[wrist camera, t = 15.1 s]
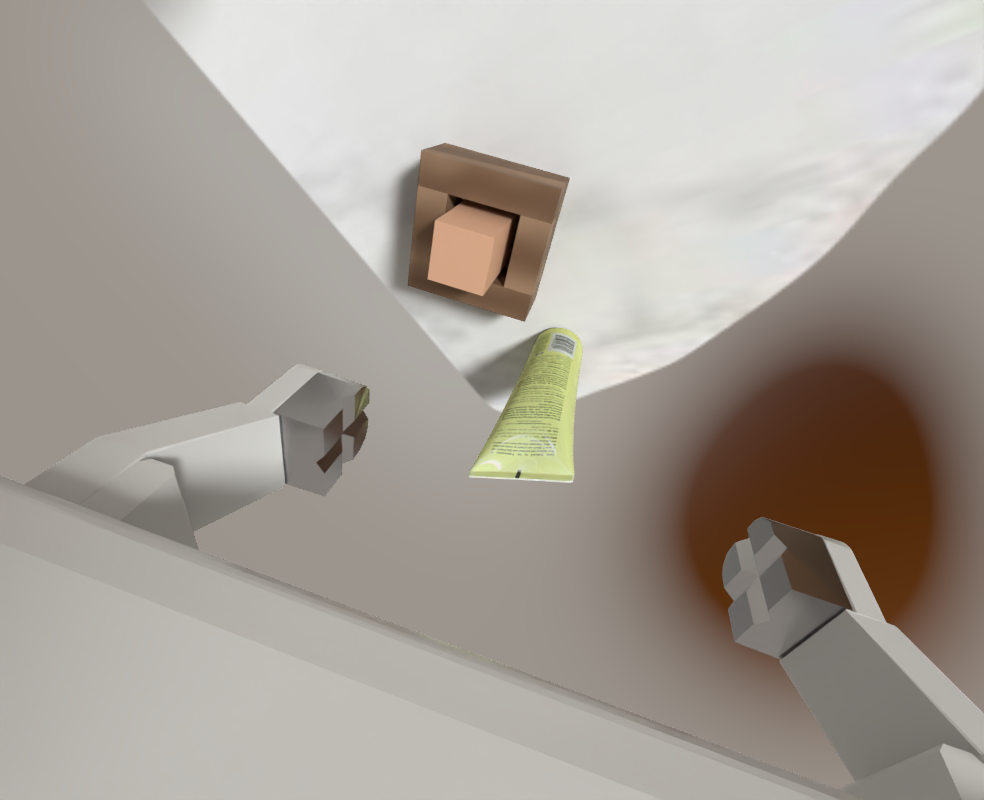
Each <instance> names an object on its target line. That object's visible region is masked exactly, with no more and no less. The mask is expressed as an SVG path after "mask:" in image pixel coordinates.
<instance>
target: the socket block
mask: <svg viewBox="0 0 984 800" xmlns="http://www.w3.org/2000/svg"><path fill="white" fill-rule="evenodd" d="M569 179H570V178H568V177H564V176H561V175H557V174H553V173H550V172H546V171H543V170H539V169H536V168H532V167H529V166H525V165H521V164H518V163H514V162H511V161H507V160H504V159H500V158H497V157H493V156H489V155H486V154H482V153H479V152H475V151H472V150H468V149H465V148H461V147H457V146H454V145H450V144H447V143H444V144H441V145H437V146H434V147H431V148H427V149H424V150H421V159H420V169H419V179H418V189H417V199H416V208H415V218H414V228H413V238H412V248H411V258H410V268H409V277H408V286H411V287H415V288H418V289H421V290H424V291H427V292H431V293H434V294H437V295H440V296H444V297H447V298H450V299H453V300H456V301H460V302H463V303H466V304H469V305H473V306H476V307H479V308H482V309H485V310H489V311H492V312H495V313H498V314H502V315H505V316H508V317H511V318H514V319H518V320H521V321H524V322H525V320H526V318H527V315H528V313H529V311H530V309H531V307H532V305H533V302H534V300H535V298H536V294H537V291H538V287H539V284H540V280H541V277H542V273H543V270H544V266H545V263H546V259H547V256H548V252H549V249H550V245H551V242H552V238H553V235H554V231H555V228H556V224H557V221H558V217H559V214H560V210H561V207H562V203H563V200H564V196H565V193H566V189H567V186H568V182H569ZM466 199H467V200H470V201H474V202H477V203H481V204H484V205H487V206H491V207H494V208H498V209H501V210H505V211H508V212H512V213H515V214H518V215H519V218H518V222H517V226H516V231H515V235H514V239H513V243H512V248H511V252H510V256H509V261H508V262H507V263H506V265H505V266H504V267H503V269H502V270H501V272H500V273H499V274H498V276H497V277H496V279H495V280H494V281H493V283H492V284H491V285H490V287H489V288H488V290H487V291H486V292H485V294H484V295H483V296H480V295H477V294H474V293H471V292H467V291H464V290H461V289H458V288H454V287H451V286H448V285H445V284H441V283H438V282H435V281H432V280H428V272H429V264H430V256H431V248H432V241H433V233H434V225H435V220H436V219H438V218H439V217H441V216H442V215H444V214H445V213H447V212H448V211H450V210H451V209H453V208H454V207H456V206H457V205H459V204H460V203H462V202H463V201H465V200H466Z"/></svg>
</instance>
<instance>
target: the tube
mask: <svg viewBox="0 0 984 800" xmlns="http://www.w3.org/2000/svg"><path fill="white" fill-rule="evenodd" d="M582 353H583V348H582V344H581V341H580V339H579V338H578V337H577V336H576V335H575V334H574V333H573V332H571V331H569V330H567V329H564V328H551V329H548V330H546V331H544V332H543V333H541V334H540V335H539V337H538V338H537V340H536V342H535V344H534V346H533V349H532V351H531V353H530V355H529V358H528V360H527V362H526V364H525V367H524V369H523V371H522V373H521V375H520V377H519V379H518V381H517V383H516V386H515V388H514V390H513V392H512V394H511V396H510V398H509V400H508V402H507V404H506V406H505V408H504V410H503V412H502V414H501V416H500V418H499V420H498V421H497V423H496V425H495V427H494V429H493V431H492V433H491V435H490V437H489V438H488V440H487V442H486V444H485V446H484V448H483V449H482V451H481V453H480V455H479V456H478V458H477V460H476V462H475V463H474V465H473V467H472V468H471V470H470V473H469V476H468V477H469V478H472V477H474V478H496V479H518V480H534V481H551V482H569V483H572V482H573V479H574V464H573V433H574V416H575V404H576V395H577V386H578V379H579V372H580V366H581V360H582Z"/></svg>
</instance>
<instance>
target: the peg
mask: <svg viewBox="0 0 984 800" xmlns="http://www.w3.org/2000/svg"><path fill="white" fill-rule="evenodd" d="M518 218H519V215H518V214H515V213H512V212H508V211H505V210H501V209H498V208H494V207H491V206H487V205H484V204H481V203H477V202H474V201H470V200H467V199H466V200H465V201H463V202H462V203H460V204H459V205H457V206H456V207H454V208H453V209H451V210H450V211H448V212H447V213H445V214H444V215H442V216H441V217H439V218H438V219H436V220H435V225H434V233H433V241H432V248H431V256H430V264H429V272H428V280H432V281H435V282H438V283H441V284H445V285H448V286H451V287H454V288H458V289H461V290H464V291H467V292H471V293H474V294H477V295H480V296H483V295H484V294H485V292H486V291H487V290H488V288H489V287H490V285H491V284H492V283H493V281H494V280H495V279H496V277H497V276H498V274H499V273H500V272H501V270H502V269H503V267H504V266H505V265H506V263H507V262H508V261H509V256H510V252H511V248H512V243H513V239H514V235H515V231H516V226H517V222H518Z"/></svg>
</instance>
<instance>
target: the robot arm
mask: <svg viewBox="0 0 984 800" xmlns="http://www.w3.org/2000/svg"><path fill="white" fill-rule="evenodd" d="M368 403H369V389H368V388H367V386H365V385H362V384H359V383H356V382H353V381H350V380H348V379H345V378H342V377H339V376H336V375H334V374H331V373H328V372H325V371H321V370H318V369H316V368H313V367H310V366H307V365H304V364H297V365H294V366H293V367H292V368H290V369H289V370H288V371H287V372H286V373H284V374H283V375H282V376H281V377H279V378H278V379H277V380H276V381H274V382H273V383H272V384H271V385H269V386H268V387H267V388H266V389H264V390H263V391H262V392H261V393H259V394H258V395H257V396H256V397H255V398H253V399H252V400H251V401H250V402H248V403H247V404H244V403H241V402H237V403H233V404H229V405H225V406H221V407H217V408H213V409H208V410H204V411H200V412H197V413H192V414H189V415H185V416H180V417H176V418H172V419H168V420H164V421H160V422H156V423H152V424H148V425H143V426H139V427H135V428H131V429H128V430H123V431H119V432H115V433H111V434H107V435H103V436H99V437H97V438H95V439H94V440H92V441H91V442H89V443H88V444H86V445H84V446H83V447H81V448H80V449H78V450H77V451H75V452H74V453H72V454H70V455H69V456H67V457H66V458H64V459H63V460H61V461H60V462H58V463H57V464H55V465H53V466H52V467H50V468H49V469H47V470H46V471H44V472H43V473H41V474H40V475H38V476H37V477H35V478H34V479H32V480H30V481H29V482H27V483H26V484H21V483H18V482H16V481H13V480H10V479H8V478H5V477H2V476H0V800H984V714H983V713H982V712H981V711H980V710H979V709H978V708H977V707H976V706H975V705H974V704H973V703H972V702H971V701H970V700H969V699H968V698H967V697H966V696H965V695H964V694H963V693H962V692H961V691H960V690H959V689H958V688H957V687H956V686H955V685H954V684H953V683H952V682H951V681H950V680H949V679H948V678H947V677H946V676H945V675H944V674H943V673H942V672H941V671H940V670H939V669H938V668H937V667H936V666H935V665H934V664H933V663H932V662H931V661H930V660H929V659H928V658H927V657H926V656H925V655H924V654H923V653H922V652H921V651H920V650H919V649H918V648H917V647H916V646H915V645H914V644H913V643H912V642H911V641H910V640H909V639H908V638H907V637H906V636H905V635H904V634H903V633H902V632H901V631H900V630H899V629H898V628H897V627H896V626H893V625H890V624H888V623H886V621H885V619H884V617H883V615H882V613H881V611H880V609H879V606H878V604H877V602H876V600H875V598H874V596H873V594H872V592H871V590H870V588H869V585H868V583H867V582H866V579H865V577H864V575H863V573H862V571H861V569H860V567H859V565H858V563H857V560H856V558H855V556H854V554H853V552H852V550H851V549H850V548H849V547H848V546H847V545H846V544H845V543H843V542H840V541H837V540H834V539H831V538H827V537H824V536H821V535H817V534H812V533H809V532H806V531H803V530H800V529H797V528H794V527H791V526H788V525H785V524H782V523H779V522H775V521H772V520H769V519H766V518H763V517H762V518H759V519H757V520H756V521H754V522H753V523H752V524H751V526H750V527H749V528H748V534H749V539H746V540H742V541H739V542H736V543H735V544H734V545H733V546H732V548H731V549H730V550H729V551H728V553H727V555H726V558H725V562H724V564H723V582H724V588H725V589H726V591H727V592H728V593H729V595H730V596H731V597H732V599H733V600H734V602H733V603H732V605H731V606H730V607H729V608H728V610H729V615H730V621H731V626H732V632H733V637H734V641H735V642H736V643H739V644H742V645H744V646H747V647H749V648H752V649H755V650H757V651H760V652H763V653H765V654H768V655H770V656H773V657H776V658H778V659H781V660H780V661H779V662H780V663H781V665H782V667H783V668H784V670H785V671H786V673H787V674H788V676H789V678H790V679H791V681H792V682H793V684H794V686H795V687H796V689H797V690H798V692H799V693H800V695H801V697H802V698H803V700H804V701H805V703H806V705H807V706H808V708H809V709H810V711H811V713H812V714H813V716H814V717H815V719H816V720H817V722H818V724H819V725H820V727H821V728H822V730H823V731H824V733H825V735H826V736H827V738H828V739H829V741H830V742H831V744H832V746H833V747H834V749H835V750H836V752H837V754H838V755H839V757H840V758H841V760H842V762H843V763H844V765H845V766H846V768H847V769H848V771H849V773H850V774H851V776H852V777H853V779H854V780H855V782H853V783H850V784H848V785H846V786H843V787H841V788H839V789H835V788H833V787H830V786H827V785H825V784H822V783H819V782H817V781H814V780H811V779H809V778H806V777H803V776H801V775H798V774H795V773H793V772H790V771H787V770H785V769H782V768H779V767H777V766H774V765H771V764H769V763H766V762H763V761H761V760H758V759H755V758H753V757H750V756H747V755H744V754H742V753H739V752H737V751H734V750H731V749H728V748H726V747H723V746H720V745H718V744H715V743H712V742H710V741H707V740H705V739H702V738H699V737H697V736H693V735H691V734H689V733H686V732H683V731H680V730H678V729H675V728H672V727H670V726H667V725H664V724H662V723H659V722H656V721H654V720H651V719H648V718H646V717H643V716H640V715H638V714H635V713H632V712H630V711H627V710H624V709H622V708H619V707H616V706H614V705H611V704H608V703H606V702H603V701H600V700H597V699H595V698H592V697H590V696H587V695H584V694H582V693H579V692H576V691H574V690H571V689H568V688H565V687H563V686H560V685H558V684H555V683H552V682H550V681H547V680H544V679H542V678H539V677H536V676H533V675H531V674H528V673H525V672H523V671H520V670H517V669H515V668H512V667H509V666H506V665H504V664H501V663H499V662H496V661H493V660H490V659H488V658H485V657H483V656H480V655H477V654H475V653H472V652H469V651H467V650H464V649H461V648H459V647H456V646H453V645H451V644H448V643H445V642H442V641H439V640H437V639H434V638H432V637H429V636H426V635H424V634H421V633H418V632H416V631H413V630H410V629H408V628H405V627H402V626H400V625H397V624H394V623H392V622H389V621H386V620H383V619H381V618H378V617H376V616H373V615H370V614H368V613H365V612H362V611H360V610H357V609H354V608H351V607H349V606H346V605H344V604H341V603H338V602H336V601H333V600H330V599H328V598H325V597H322V596H320V595H317V594H314V593H312V592H309V591H306V590H303V589H301V588H298V587H296V586H293V585H290V584H288V583H285V582H282V581H280V580H277V579H274V578H271V577H269V576H266V575H263V574H261V573H258V572H255V571H253V570H250V569H248V568H245V567H242V566H239V565H237V564H234V563H231V562H229V561H226V560H224V559H221V558H218V557H216V556H213V555H210V554H208V553H205V552H202V551H200V550H199V549H198V545H197V542H196V539H195V536H194V531H196V530H198V529H200V528H202V527H204V526H206V525H208V524H210V523H212V522H214V521H216V520H218V519H220V518H222V517H224V516H226V515H228V514H230V513H232V512H234V511H236V510H238V509H240V508H242V507H244V506H246V505H248V504H250V503H252V502H254V501H256V500H258V499H260V498H262V497H264V496H266V495H268V494H270V493H272V492H274V491H276V490H278V489H280V488H282V487H284V486H285V484H288V485H291V486H294V487H297V488H301V489H304V490H307V491H310V492H313V493H316V494H319V495H322V496H326V494H327V493H328V492H329V490H330V489H331V488H332V486H333V485H334V484H335V482H336V481H337V480H338V479H339V477H340V476H341V475H342V464H343V463H345V462H348V461H350V460H353V459H354V457H355V456H356V454H357V453H358V451H359V450H360V448H361V446H362V444H363V442H364V440H365V436H366V433H367V428H368V418H367V416H366V414H365V413H364V411H363V410H364V408H365V407H366V406H367V405H368Z"/></svg>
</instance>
